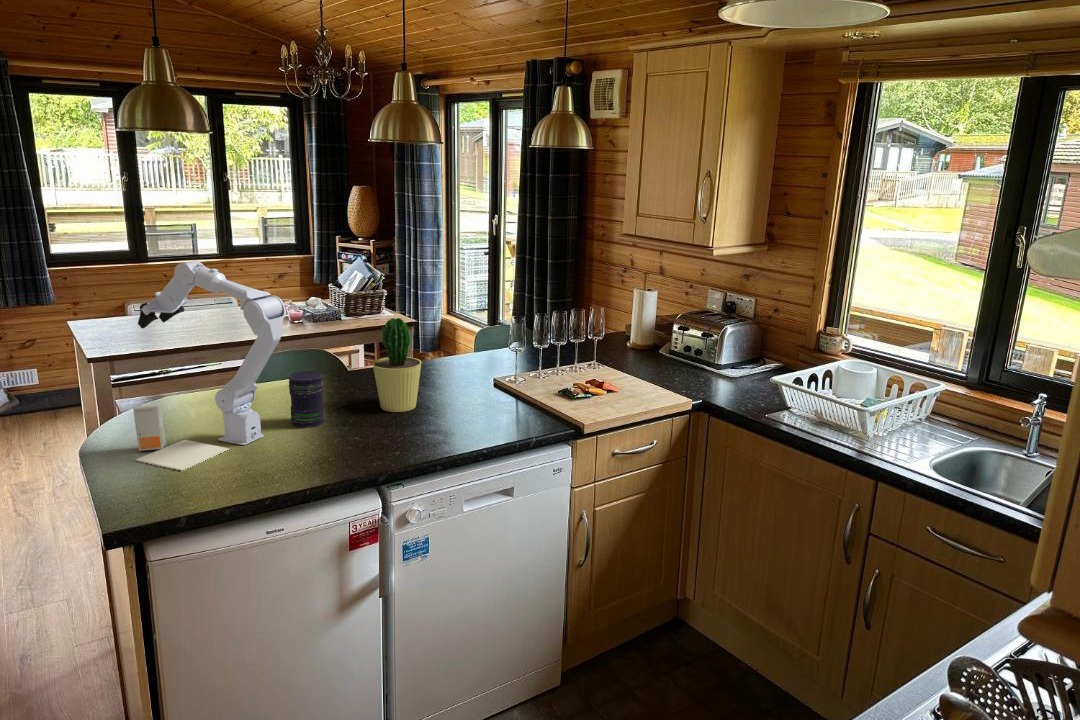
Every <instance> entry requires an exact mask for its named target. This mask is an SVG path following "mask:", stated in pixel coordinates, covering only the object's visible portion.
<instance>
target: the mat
mask: <svg viewBox="0 0 1080 720" xmlns="http://www.w3.org/2000/svg"><path fill="white" fill-rule="evenodd" d="M227 450H228V451H230V448H228V447H223V446H219V445H213V444H207V443H204V442H199V441H193V440H189V439H183V440H180V441H177V442H176V443H173V444H171V445H167V446H164V448H163V449H157V450H155V451H153V452H150V453H148V454H145V455H143V456H140V457H137V458H136V459H135V462H137V461H138V462H139V463H142V462H143V464H146V463H148V464H147V465H151V464H152V465H151V466H155V465H156V467H160V466H161V468H164V467H165V469H169V468H170V470H173V469H176V470H175V471H178V470H181V471H180V472H184V471H186V470H188V469H187V468H189V469H191V468H193V467H195V466H197V465H199V464H198V463H200V464H201V462H202V463H204V462H206V461H208V460H210V459H209V458H211V459H213V458H215V457H217V456H219V455H218V454H220V453H222V454H224V453H225V452H224V451H226V452H228V451H227ZM223 452H224V453H223ZM216 455H217V456H216ZM220 455H221V454H220ZM214 456H215V457H214ZM212 457H213V458H212ZM207 459H208V460H207ZM205 460H206V461H205ZM203 461H204V462H203ZM196 464H197V465H196ZM194 465H195V466H194ZM192 466H193V467H192ZM190 467H191V468H190ZM185 469H186V470H185ZM183 470H184V471H183Z"/></svg>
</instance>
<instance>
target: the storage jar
mask: <svg viewBox="0 0 1080 720" xmlns="http://www.w3.org/2000/svg"><path fill="white" fill-rule="evenodd" d="M288 380H289V381H288V388H289V391H288V392H289V396H290V402H291V403H290V404H291V406H290V418H291V426H292V425H293V427H294V426H295V427H294V428H297V427H299V428H298V429H312V427H313V428H317V427H321V426H323V425H324V424H325V422H326V420H325V414H326V409H325V404H324V396H323V393H324V382H323V373H322V372H319V371H316V370H315V371H314V370H306V371H305V370H304V371H297V372H293V373H290V374H289V375H288ZM320 425H321V426H320Z"/></svg>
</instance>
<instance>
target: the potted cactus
mask: <svg viewBox="0 0 1080 720" xmlns="http://www.w3.org/2000/svg"><path fill="white" fill-rule="evenodd" d="M406 322H407V321H405V320H404V319H403V318H401V317H396V318H395V317H393V318H392V317H391V318H390V319H387V321H386V322H385V323H384V325H383V327H382V334H381V338H382V339H381V342H382V344H381V346H383V345H384V348H386V353H387V355H386V357H384V358H383V357H382V358H379V359H376V360H374V361H373V362H372V367H373V372H374V378H375V382H376V383H375V384H376V388H377V394H378V400H379V405H380V408H381V410H383V411H386V412H391V413H397V412H398V413H400V412H401V413H402V412H407V411H412V410H413V409H415V408H416V407H417V399H418V393H419V385H420V377H421V369H422V361H421V360H420V359H418V358H415V357H410V356H408V355H409V353H408V352H409V351H410V349H409V347H410V345H411V343H412V344H413V340H411V339H412V336H411V335H410V331H409V329H410V327H408V325H407V323H406ZM381 346H380V347H381Z"/></svg>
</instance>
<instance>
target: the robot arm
mask: <svg viewBox="0 0 1080 720" xmlns="http://www.w3.org/2000/svg"><path fill="white" fill-rule="evenodd" d="M194 287H198V288H201V289H203V290H206V291H208V292H210V293H213V294H219V293H220V292H222V293H224V294H226V295H227V296H230V297H232V298H234V299H235V300H238V301H240V306H239V308H240V311H242V312H243V317H244V319H245V320H246V322H247V324H248V326H249V327H250V329H251V330H252V332H253V334H254V335H255V336H256V338H255V340H254V342H253V344H252V345H251V347H250V349H249V351H248V353H247V354H246V356H245V358H244V359H243V361H242V363H241V365H240V366H239V368H238V369H237V372H236V373H235V375H234V377H233V378H232V379H231V380H229V381H228V382H226V383H225V384H224V386H223V387H222V388H221V389H220V390H218V391H217V392H216V394H215V396H214V400H215V401H214V402H215V405H216V406H217V408H218V409H219V410H220V412H222V415H223V416H222V417H223V427H224V436H220V437H219V438H218V439H217V440H218V441H221V442H226V443H231V444H236V445H241V446H246V445H248V444H250V443H252V442H253V443H254V442H255V441H256V440H259V439H261V438H263V437H264V434H262V426H261V416H260V414H259V412H257V411H255V410H254V409H252V408H251V407H252V404H253V403H252V402H254V400H255V399H256V391H257V389H258V385H257V383H256V381H257V380H258V378H259V376H260V375H261V373H262V371H263V369H264V368H265V366H266V365H267V364H268V363H267V362H268V361H269V359H270V358H271V356H272V354H273V352H274V351H275V349H276V348H277V346H278V344H279V342H280V341H281V338H282V332H283V324H284V319H285V318H286V316H287V311H286V307H285V304H284V302H283V300H282V298H280V297H279V296H277V295H272V294H271V293H270V292H268V291H264V290H260V289H255V288H253V287H249V286H246V285H243V284H240V283H238V282H235V281H232V280H228V279H227V278H226V276H225V274H224V273H222V272H219V269H217V268H209V267H207V266H205V265H204V264H203V263H202V262H200V261H198V260H194V261H189V262H188V261H187V262H181V263H178V264H176V266H175V268H174V276H172V278H171V279H170V280H169V282H168V283H167V284H166V285H165V287H164V288H163V289H162V290H161V291H157V292H155V293H154V296H155V298H153V299H152V300H151V301H150V302H143V303H141V304H140V306H139V318H138V321H137V325H138V326H139V327H140V328H141V329H145V328H147V327H148V326H149V325H150V324H151V323H152V322H154V321H156V320H160V321H161V322H162V323H165V322H167V321H169V320H170V319H172V318H174V316H176V315H178V314H181V313H183V312H185V307H184V305H186V304H187V303H188V301H189V299H188V298H187V296H188V295H189V294H190V293H191V291H192V290H193V289H194ZM156 313H159V315H158V316H157V315H156Z"/></svg>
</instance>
